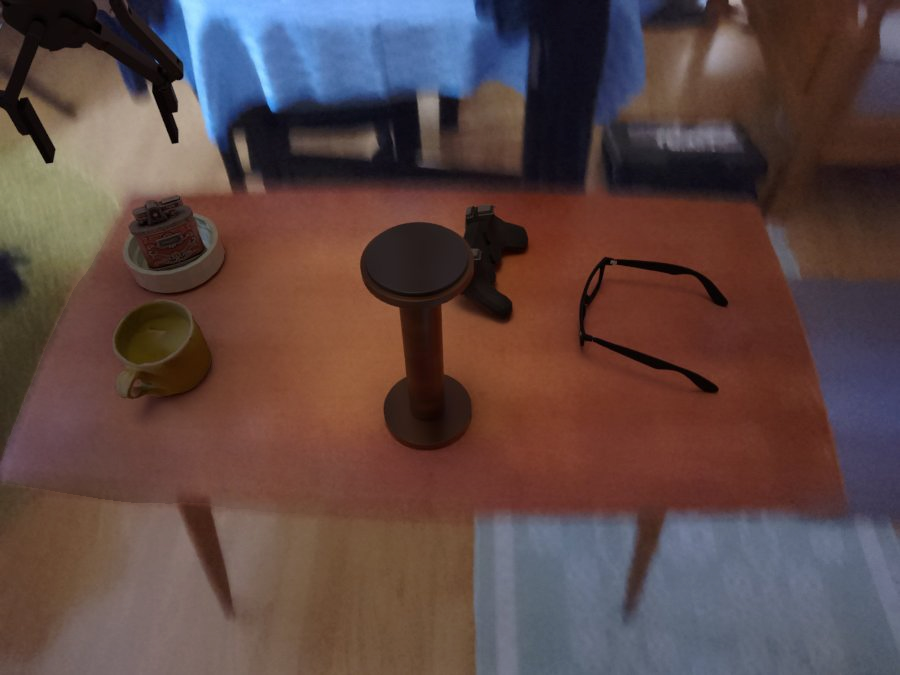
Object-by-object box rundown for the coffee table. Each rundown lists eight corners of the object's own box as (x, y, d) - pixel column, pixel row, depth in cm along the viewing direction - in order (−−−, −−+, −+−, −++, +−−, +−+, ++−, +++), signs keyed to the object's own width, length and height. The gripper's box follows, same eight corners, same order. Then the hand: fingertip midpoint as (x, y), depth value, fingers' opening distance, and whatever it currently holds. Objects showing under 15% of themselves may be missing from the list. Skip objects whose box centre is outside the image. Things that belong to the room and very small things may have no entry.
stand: (402, 463, 74) (382, 311, 55) (372, 394, 80) (344, 236, 61) (486, 431, 76) (493, 275, 58) (450, 366, 82) (446, 206, 64)
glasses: (591, 275, 93) (595, 247, 89) (727, 300, 89) (737, 272, 85) (564, 366, 83) (567, 340, 79) (716, 400, 79) (727, 373, 75)
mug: (164, 311, 86) (145, 276, 77) (232, 352, 86) (221, 323, 77) (97, 389, 81) (68, 362, 72) (169, 434, 81) (149, 412, 72)
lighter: (152, 278, 92) (123, 220, 84) (146, 262, 94) (118, 205, 86) (210, 257, 94) (188, 200, 87) (204, 243, 96) (181, 186, 89)
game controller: (490, 248, 99) (458, 195, 93) (533, 237, 96) (503, 182, 90) (467, 331, 89) (430, 278, 83) (514, 322, 86) (478, 266, 80)
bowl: (140, 307, 89) (128, 285, 86) (128, 248, 97) (117, 226, 94) (234, 279, 93) (226, 257, 89) (216, 224, 100) (208, 202, 97)
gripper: (164, -86, 66) (223, 112, 82) (-120, -55, 62) (2, 145, 78) (163, -56, 61) (226, 147, 77) (-143, -21, 57) (-9, 185, 73)
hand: (114, 147), depth 78 cm, fingers open, 13 cm apart
